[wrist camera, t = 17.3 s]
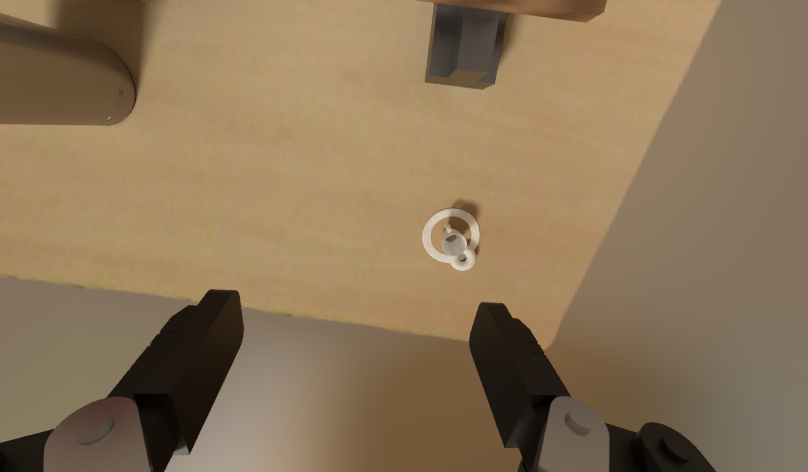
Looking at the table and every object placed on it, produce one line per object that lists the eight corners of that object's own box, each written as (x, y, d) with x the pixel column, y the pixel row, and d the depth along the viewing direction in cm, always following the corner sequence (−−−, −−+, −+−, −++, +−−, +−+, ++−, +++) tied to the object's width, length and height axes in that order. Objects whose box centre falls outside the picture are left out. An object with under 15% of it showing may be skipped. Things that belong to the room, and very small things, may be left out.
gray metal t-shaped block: (482, 89, 38) (511, 75, 28) (424, 82, 37) (434, 66, 28) (503, -32, 34) (544, -95, 24) (439, -42, 33) (456, -109, 24)
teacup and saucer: (476, 265, 46) (484, 278, 42) (421, 266, 45) (424, 279, 42) (480, 207, 43) (488, 214, 39) (422, 208, 43) (424, 215, 39)
